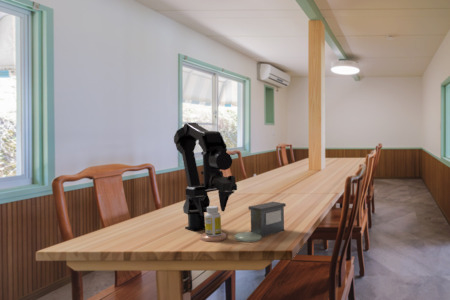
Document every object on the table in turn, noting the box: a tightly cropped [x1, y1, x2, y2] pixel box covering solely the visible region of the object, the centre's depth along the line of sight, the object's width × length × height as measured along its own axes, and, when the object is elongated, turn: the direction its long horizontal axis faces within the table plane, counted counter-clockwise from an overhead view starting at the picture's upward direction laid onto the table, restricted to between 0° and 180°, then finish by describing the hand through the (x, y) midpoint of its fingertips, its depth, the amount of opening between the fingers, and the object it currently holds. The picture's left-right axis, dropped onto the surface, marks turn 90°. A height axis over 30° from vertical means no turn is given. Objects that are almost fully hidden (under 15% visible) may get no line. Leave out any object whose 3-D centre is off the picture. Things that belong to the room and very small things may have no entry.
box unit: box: [248, 201, 287, 238], centre depth 134 cm, size 6×13×10 cm, turn 131°
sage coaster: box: [234, 231, 262, 243], centre depth 127 cm, size 9×9×1 cm
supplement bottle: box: [204, 205, 222, 237], centre depth 129 cm, size 5×5×10 cm
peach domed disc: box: [199, 231, 227, 243], centre depth 129 cm, size 9×9×1 cm
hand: (212, 213), depth 128 cm, fingers open, 9 cm apart
